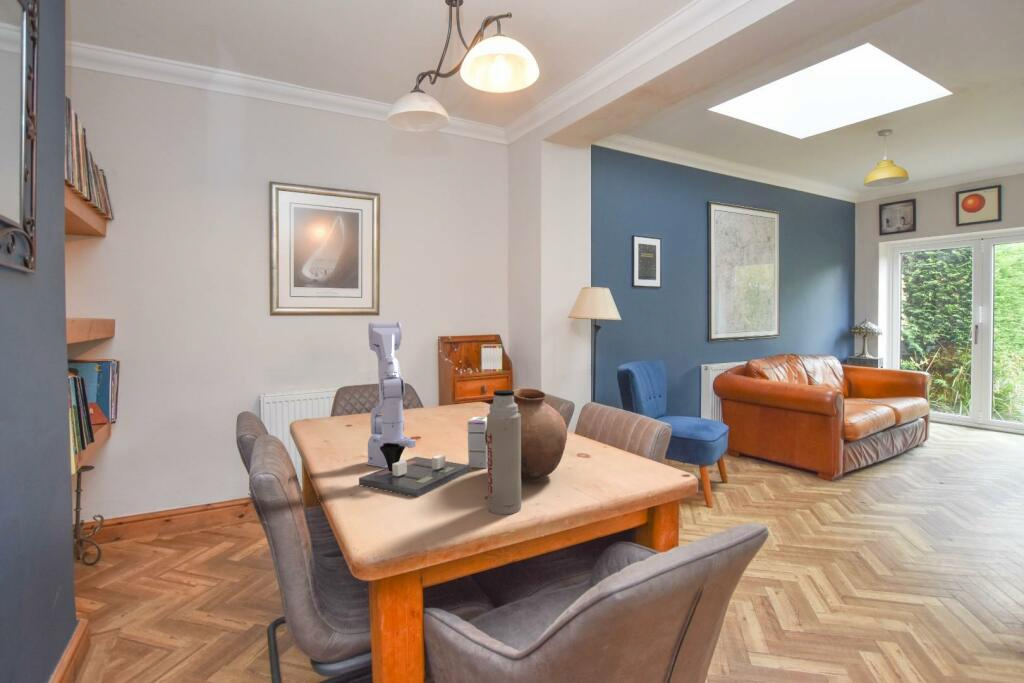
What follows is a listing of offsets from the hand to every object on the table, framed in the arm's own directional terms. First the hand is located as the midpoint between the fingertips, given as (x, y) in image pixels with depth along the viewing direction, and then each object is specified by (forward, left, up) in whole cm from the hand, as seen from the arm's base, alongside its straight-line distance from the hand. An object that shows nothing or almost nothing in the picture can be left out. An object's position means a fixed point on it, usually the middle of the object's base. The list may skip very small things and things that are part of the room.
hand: (393, 470), depth 141 cm
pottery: (+31, +20, -3) cm, 37 cm away
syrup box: (+13, +24, -3) cm, 28 cm away
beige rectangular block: (+2, 0, -1) cm, 2 cm away
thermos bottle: (+37, -3, -3) cm, 37 cm away
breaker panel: (+4, +5, -3) cm, 7 cm away
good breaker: (+8, +10, -1) cm, 13 cm away
